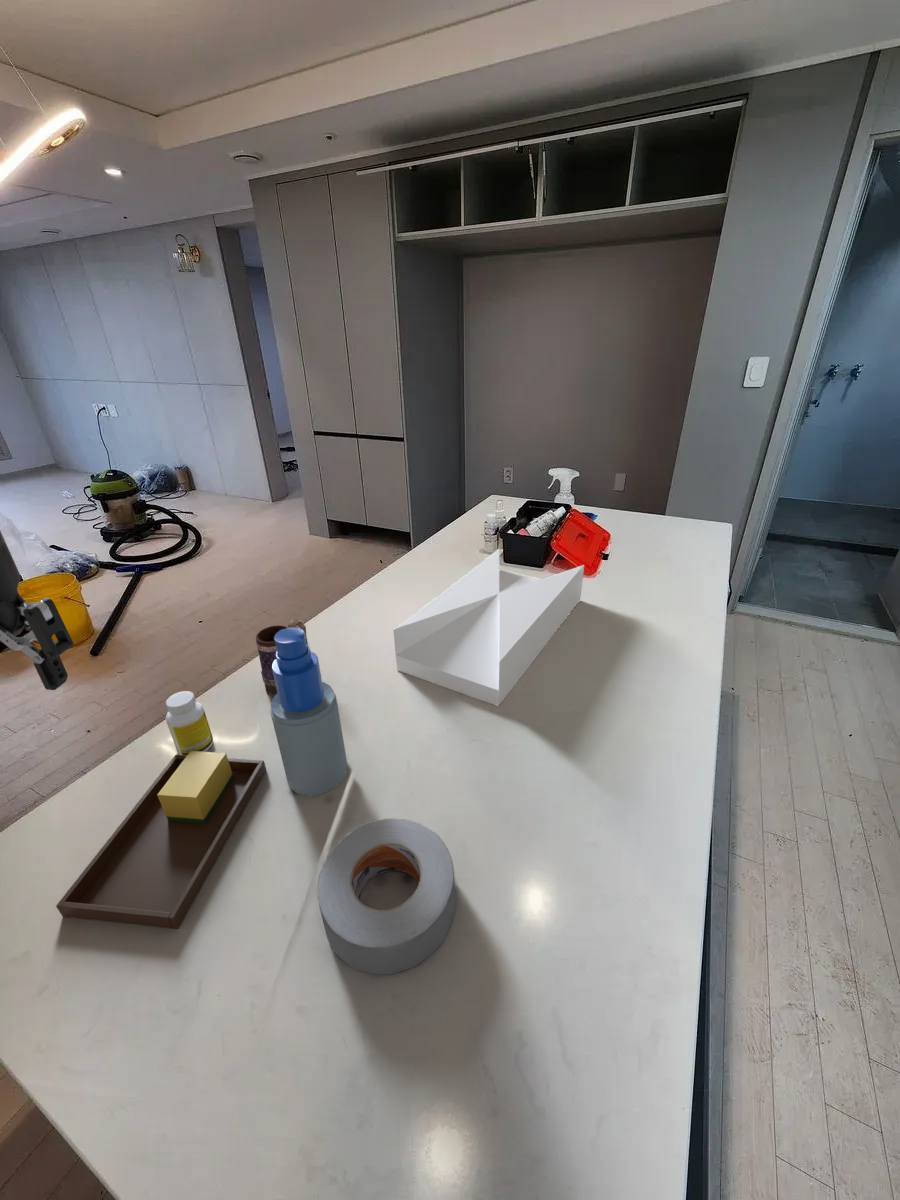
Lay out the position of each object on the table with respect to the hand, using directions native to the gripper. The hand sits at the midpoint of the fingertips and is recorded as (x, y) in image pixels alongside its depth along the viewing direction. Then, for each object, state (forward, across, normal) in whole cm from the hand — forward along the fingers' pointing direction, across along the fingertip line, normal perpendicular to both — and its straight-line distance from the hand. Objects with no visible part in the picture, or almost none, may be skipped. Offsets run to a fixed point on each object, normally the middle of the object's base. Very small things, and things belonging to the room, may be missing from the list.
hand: (22, 683), depth 56 cm
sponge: (+25, -11, -7) cm, 28 cm away
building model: (+24, -52, -56) cm, 80 cm away
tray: (+25, -11, -1) cm, 28 cm away
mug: (+25, -13, -35) cm, 45 cm away
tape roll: (+25, -41, +5) cm, 48 cm away
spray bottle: (+25, -26, -13) cm, 38 cm away
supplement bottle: (+25, -4, -17) cm, 31 cm away
